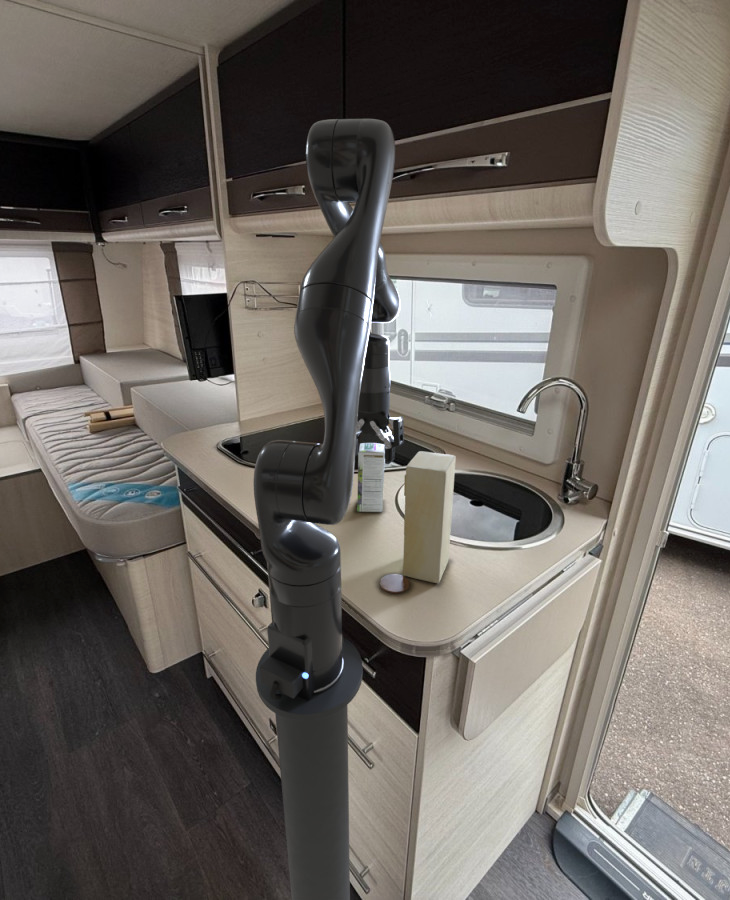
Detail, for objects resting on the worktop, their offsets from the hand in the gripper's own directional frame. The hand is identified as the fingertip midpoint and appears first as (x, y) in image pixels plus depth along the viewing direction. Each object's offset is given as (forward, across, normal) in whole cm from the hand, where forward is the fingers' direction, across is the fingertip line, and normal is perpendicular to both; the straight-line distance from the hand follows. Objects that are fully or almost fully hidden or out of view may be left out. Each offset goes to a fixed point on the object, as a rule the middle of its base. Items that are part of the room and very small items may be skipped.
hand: (371, 459), depth 103 cm
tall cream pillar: (+12, +20, -16) cm, 28 cm away
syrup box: (+12, 0, 0) cm, 12 cm away
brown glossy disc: (+12, +17, -23) cm, 31 cm away
